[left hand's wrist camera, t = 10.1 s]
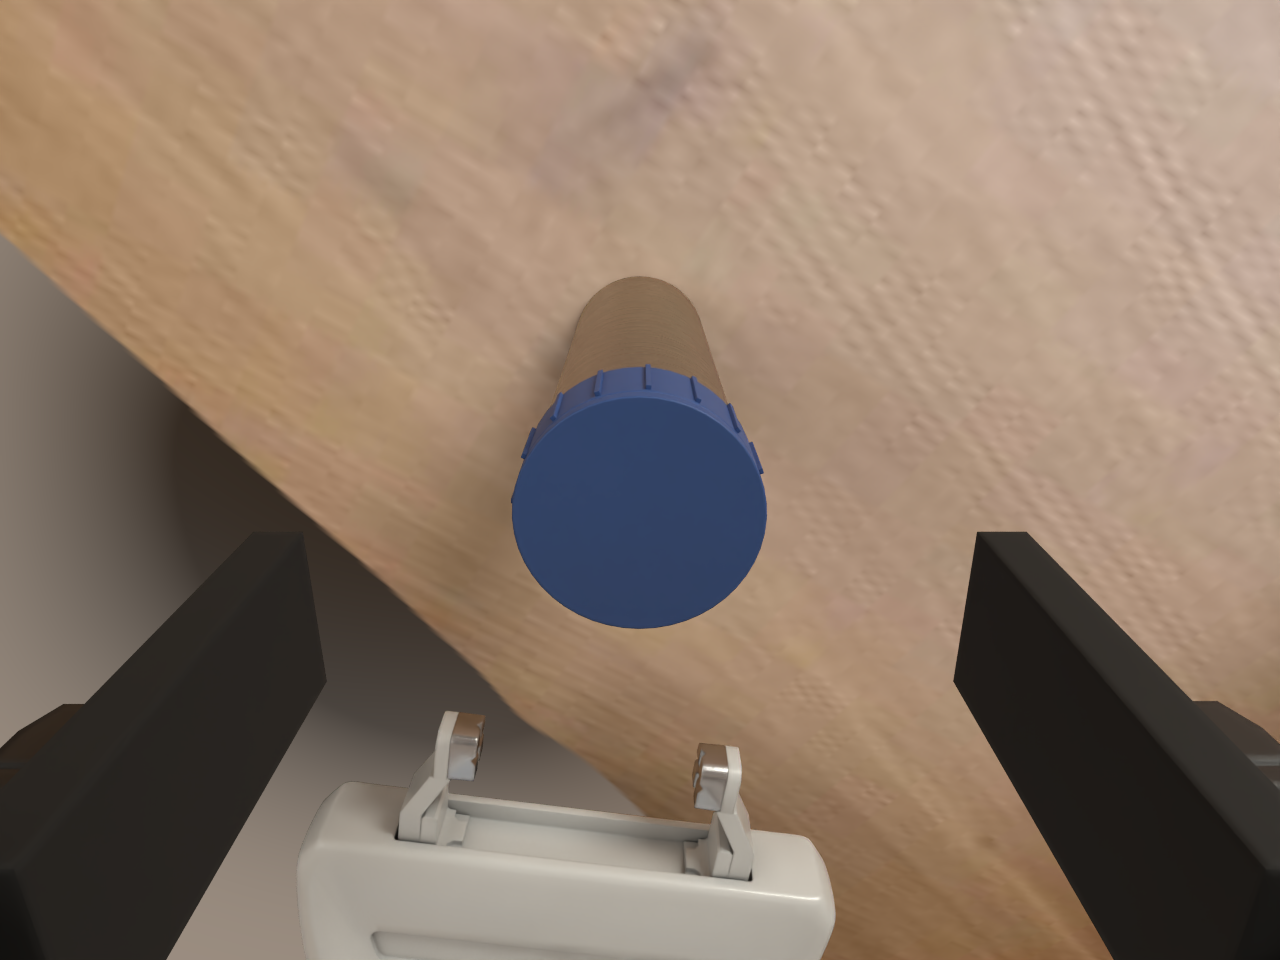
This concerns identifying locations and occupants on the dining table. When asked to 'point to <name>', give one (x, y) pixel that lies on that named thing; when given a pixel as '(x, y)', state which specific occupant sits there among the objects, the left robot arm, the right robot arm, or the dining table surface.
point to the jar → (639, 335)
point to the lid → (639, 499)
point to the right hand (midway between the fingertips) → (592, 738)
